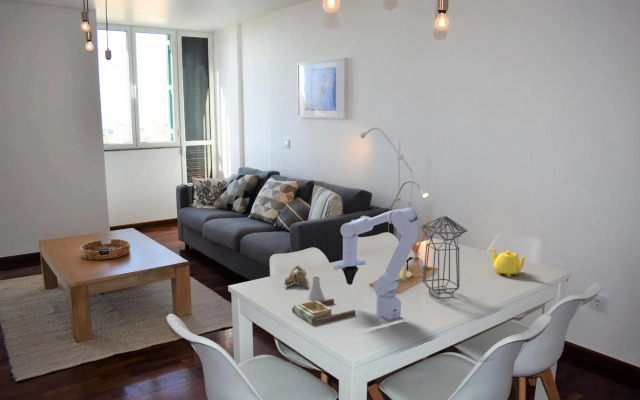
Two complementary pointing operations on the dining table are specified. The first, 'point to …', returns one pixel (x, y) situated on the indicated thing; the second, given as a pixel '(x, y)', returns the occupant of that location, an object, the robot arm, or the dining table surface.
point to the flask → (316, 290)
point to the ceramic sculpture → (297, 276)
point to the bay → (313, 321)
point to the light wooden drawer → (316, 309)
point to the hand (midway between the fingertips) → (349, 283)
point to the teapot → (507, 263)
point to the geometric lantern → (442, 249)
